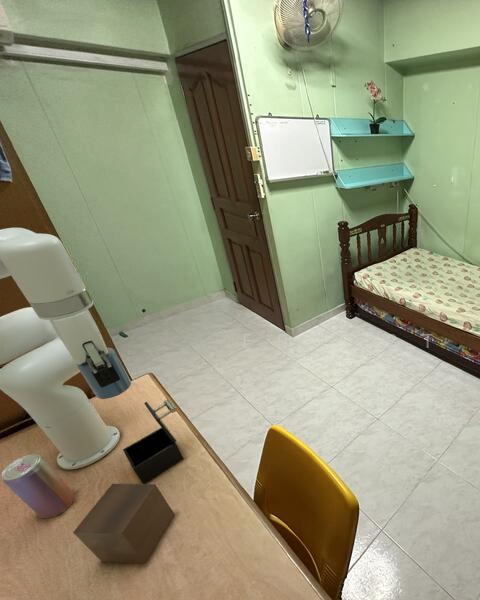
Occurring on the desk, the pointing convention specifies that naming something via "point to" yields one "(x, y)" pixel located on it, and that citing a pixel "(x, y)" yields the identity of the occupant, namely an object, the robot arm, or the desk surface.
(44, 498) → the beverage can
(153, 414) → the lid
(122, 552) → the stand
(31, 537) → the desk surface
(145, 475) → the wash box
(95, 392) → the cup
